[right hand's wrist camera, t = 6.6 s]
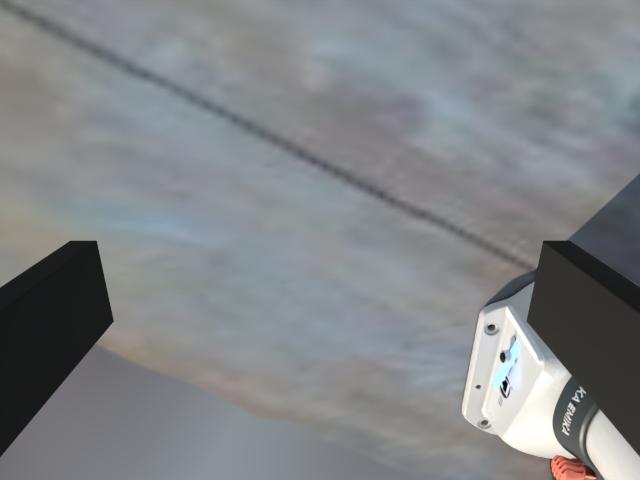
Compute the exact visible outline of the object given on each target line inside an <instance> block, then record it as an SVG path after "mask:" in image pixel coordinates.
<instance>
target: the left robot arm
mask: <svg viewBox="0 0 640 480" xmlns="http://www.w3.org/2000/svg"><path fill="white" fill-rule="evenodd" d="M534 283H535V281H534V282H533V283H531V284H529V285H528V286H526V287H525V288H523V289H522V290H521V291H519V292H518V293H516V294H515V295H513V296H512V297H510V298H508V299H505V300H501V301H498V302H495V303H492V304H490V305H488V306H486V307H484V308H483V309H482V310H481V312H480V314H479V319H478V324H477V329H476V335H475V340H474V345H473V351H472V356H471V361H470V367H469V372H468V377H467V383H466V388H465V393H464V399H463V404H462V413H463V415H464V416H465V418H466V419H467V420H468V421H469V422H470V423H472V424H473V425H474V426H476V427H478V428H480V429H482V430H484V431H486V432H489V433H492V434H495V435H499V436H500V438H502V439H503V440H504V441H505V442H506V443H507V444H509V445H510V446H512V447H513V448H515V449H518V450H520V451H522V452H525V453H528V454H531V455H535V456H539V457H545V458H551V459H550V467H551V473H552V478H553V480H585V478H591V479H595V480H640V457H639V456H638V454H637V453H636V452H635V451H634V450H633V448H632V447H631V446H630V445H629V444H628V442H627V441H626V440H625V439H624V438H623V436H622V435H621V434H620V433H619V432H618V430H617V429H616V428H615V427H614V426H613V424H612V423H611V422H610V421H609V420H608V418H607V417H606V416H605V415H604V414H603V412H602V411H601V410H600V409H599V408H598V406H597V405H596V404H595V403H594V402H593V400H592V399H591V398H590V397H589V396H588V394H587V393H586V392H585V391H584V390H583V389H582V387H581V386H580V385H579V384H578V383H577V381H576V380H575V379H574V378H573V377H572V375H571V374H570V373H569V372H568V371H567V369H566V368H565V367H564V366H563V365H562V363H561V362H560V361H559V360H558V359H557V357H556V356H555V355H554V354H553V353H552V351H551V350H550V349H549V348H548V347H547V345H546V344H545V343H544V342H543V341H542V339H541V338H540V337H539V336H538V335H537V333H536V332H535V331H534V330H533V329H532V327H531V326H530V325H529V324H528V323H527V322H526V321H527V316H528V311H529V307H530V302H531V297H532V292H533V288H534ZM491 324H493V325H492V326H491V327H488V326H489V325H491ZM483 420H484V421H483ZM582 462H583V463H584V465H583V464H582Z"/></svg>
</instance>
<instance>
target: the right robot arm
mask: <svg viewBox="0 0 640 480" xmlns="http://www.w3.org/2000/svg"><path fill="white" fill-rule="evenodd" d="M113 322H114V321H113V316H112V311H111V307H110V302H109V297H108V292H107V288H106V283H105V278H104V273H103V269H102V264H101V259H100V254H99V250H98V245H97V241H69V242H68V243H66V244H65V245H63V246H62V247H60V248H59V249H57V250H56V251H54V252H53V253H51V254H50V255H48V256H47V257H45V258H44V259H42V260H41V261H39V262H38V263H36V264H35V265H33V266H32V267H30V268H29V269H27V270H26V271H24V272H23V273H21V274H20V275H18V276H17V277H15V278H14V279H12V280H11V281H9V282H8V283H6V284H5V285H3V286H2V287H0V457H1V456H2V454H3V453H4V452H5V451H6V449H7V448H8V447H9V446H10V445H11V444H12V442H13V441H14V440H15V439H16V438H17V436H18V435H19V434H20V433H21V432H22V430H23V429H24V428H25V427H26V426H27V424H28V423H29V422H30V421H31V420H32V418H33V417H34V416H35V415H36V414H37V412H38V411H39V410H40V409H41V408H42V406H43V405H44V404H45V403H46V402H47V400H48V399H49V398H50V397H51V396H52V394H53V393H54V392H55V391H56V390H57V389H58V387H59V386H60V385H61V384H62V383H63V381H64V380H65V379H66V378H67V377H68V375H69V374H70V373H71V372H72V371H73V369H74V368H75V367H76V366H77V365H78V363H79V362H80V361H81V360H82V359H83V357H84V356H85V355H86V354H87V353H88V351H89V350H90V349H91V348H92V347H93V345H94V344H95V343H96V342H97V341H98V339H99V338H100V337H101V336H102V335H103V333H104V332H105V331H106V330H107V329H108V327H109V326H110V325H111V324H112V323H113ZM526 322H527V323H528V324H529V325H530V326H531V327H532V329H533V330H534V331H535V332H536V333H537V335H538V336H539V337H540V338H541V339H542V341H543V342H544V343H545V344H546V345H547V347H548V348H549V349H550V350H551V351H552V353H553V354H554V355H555V356H556V357H557V359H558V360H559V361H560V362H561V363H562V365H563V366H564V367H565V368H566V369H567V371H568V372H569V373H570V374H571V375H572V377H573V378H574V379H575V380H576V381H577V383H578V384H579V385H580V386H581V387H582V389H583V390H584V391H585V392H586V393H587V394H588V396H589V397H590V398H591V399H592V400H593V402H594V403H595V404H596V405H597V406H598V408H599V409H600V410H601V411H602V412H603V414H604V415H605V416H606V417H607V418H608V420H609V421H610V422H611V423H612V424H613V426H614V427H615V428H616V429H617V430H618V432H619V433H620V434H621V435H622V436H623V438H624V439H625V440H626V441H627V442H628V444H629V445H630V446H631V447H632V448H633V450H634V451H635V452H636V453H637V454H638V456H639V457H640V287H638V286H637V285H635V284H634V283H632V282H631V281H629V280H628V279H626V278H625V277H623V276H622V275H620V274H619V273H617V272H616V271H614V270H613V269H611V268H610V267H608V266H607V265H605V264H604V263H602V262H601V261H599V260H598V259H596V258H595V257H593V256H592V255H590V254H589V253H587V252H586V251H584V250H583V249H581V248H580V247H578V246H577V245H575V244H574V243H572V242H571V241H543V245H542V250H541V254H540V259H539V264H538V269H537V273H536V278H535V283H534V288H533V292H532V297H531V302H530V307H529V311H528V316H527V321H526Z"/></svg>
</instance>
